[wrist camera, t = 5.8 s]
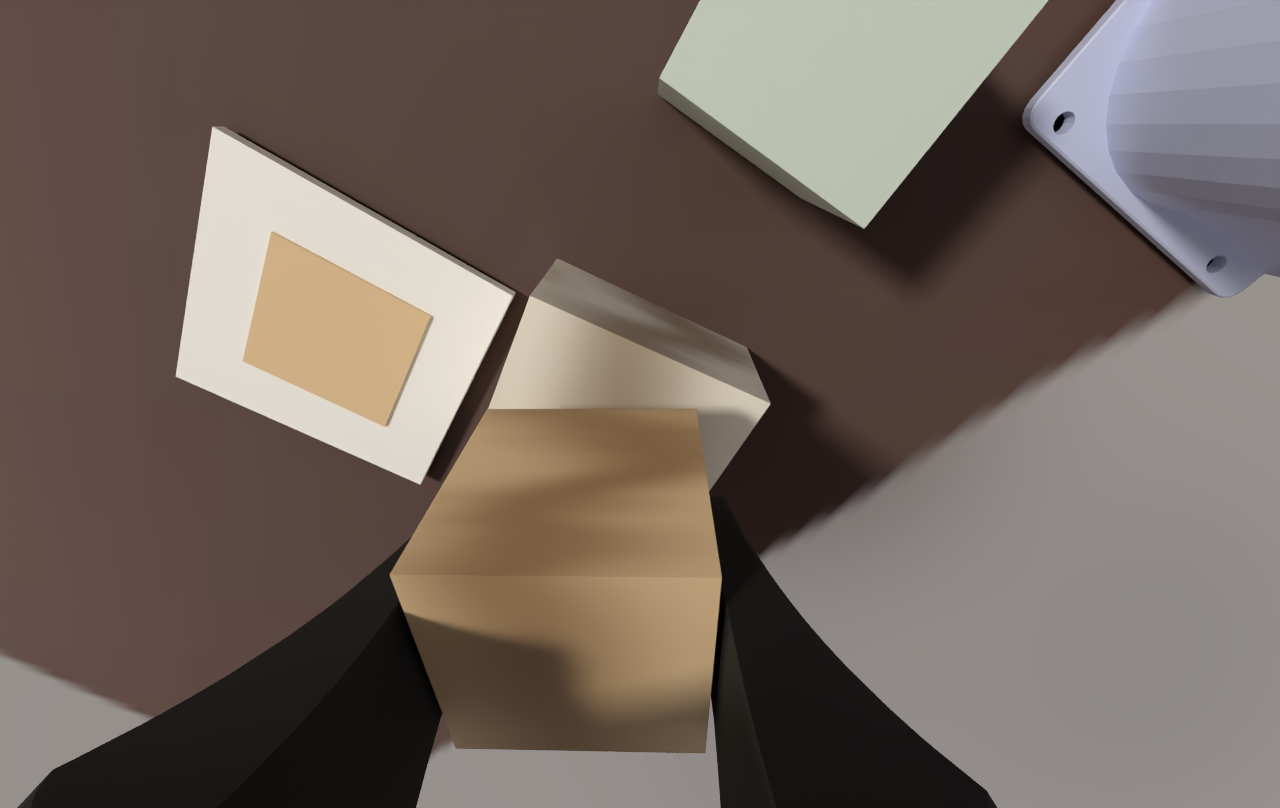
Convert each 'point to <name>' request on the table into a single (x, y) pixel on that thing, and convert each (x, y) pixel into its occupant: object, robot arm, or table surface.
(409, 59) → the table surface
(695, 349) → the base block
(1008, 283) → the table surface
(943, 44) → the sage cube
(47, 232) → the table surface
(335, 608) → the robot arm
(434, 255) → the card
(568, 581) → the oak cube
